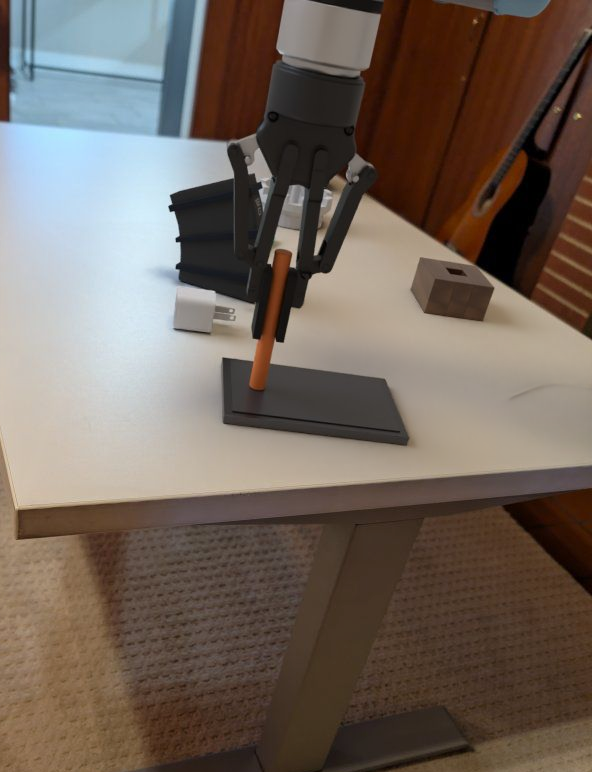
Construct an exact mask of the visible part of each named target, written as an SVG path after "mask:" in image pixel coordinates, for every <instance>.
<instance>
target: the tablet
mask: <svg viewBox="0 0 592 772" xmlns="http://www.w3.org/2000/svg"><path fill="white" fill-rule="evenodd" d="M253 363H254V360H248V359H239V358H232V357H226V356H225V357H224V356H222V357H221V361H220V371H221V372H220V373H221V374H220V375H221V376H220V377H221V403H222V404H221V406H222V407H221V408H222V411H221V412H222V423H223V424H228V425H237V426H245V427H253V428H262V429H269V430H277V431H278V430H279V431H286V432H287V431H288V432H294V433H304V434H309V435H311V434H312V435H318V436H319V435H320V436H329V437H335V438H344V439H345V438H346V439H353V440H359V441H369V442H379V443H386V444H393V445H402V446H408V443H409V440H410V435H409V433H408V431H407V429H406V426H405V424H404V421H403V418H402V416H401V414H400V412H399V409H398V406H397V404H396V401H395V399H394V396H393V394H392V393H391V389H390V387H389V385H388V382H387V380H386V378H384V377H377V376H376V377H375V376H370V375H361V374H353V373H345V372H338V371H331V370H322V369H316V368H309V367H308V368H307V367H301V366H294V365H293V366H292V365H287V364H286V365H283V364H277V363H270V366H269V371H268V376H267V380H266V385H265V388H264V389H263V390H254V389H252V388H251V387H250V386H249V384H250V378H251V373H252V368H253Z"/></svg>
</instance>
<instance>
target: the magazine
mask: <svg viewBox="0 0 592 772" xmlns="http://www.w3.org/2000/svg"><path fill="white" fill-rule="evenodd" d="M248 174H249V226H248V244H249V245H251V246H253V247H254V246H255V242H256V238H257V234H258V230H259V227H260V223H261V219H262V215H263V206H262V202H261V197H260V193H259V190H260V189H262V188H263V187H262V183H261V182H260V181H258V180H257V177H256V173H254V172H253V173H248ZM169 199H170V202H171V204H169V205H168V206H167V208H168V212H169V213H174V215H175V219H176V222H177V229H178V236H177V237H175V243H177V244H178V243H179V247H180V248H179V250H180V254H179V255H180V256H179V257H180V259H179V262H178V263H175V268H174V269H175V270H177V271H179V272H178V280H179V281H181V282H183V283H187V284H190V285H192V286H196V287H200V288H202V289H205V290H211V291H215V293H218V294H222V295H226V296H229V297H231V298H236V299H238V300H241V301H244V302H248V303H254V302H249V301H248V298H247V291H246V290H247V285H248V279H249V273H250V265H249V264H247V263H246V262H244V261H239V260H237V259H236V257H235V252H234V177H232V178H228V179H223V180H219V181H215V182H211V183H205V184H203V185H198V186H194V187H191V188H186V189H181V190H178V191H175V192H173V193H170V194H169Z"/></svg>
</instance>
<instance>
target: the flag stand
mask: <svg viewBox="0 0 592 772" xmlns="http://www.w3.org/2000/svg"><path fill="white" fill-rule="evenodd" d="M259 182H261V183H262V187H263V188H262V189H260V190H259V193H260V197H261V202H262V206H263V211H264V207H265V204H266V200H267V196H268V192H269V188H270V182H271V178H269V177H266V176H265V177H262V178H260V179H259ZM304 189H305V187H303V186H301V185H291V186H289V190H288V193H287V196H286V198H285V201H284V204H283V208H282V212H281V215H280V219H279V223H278V226H279V227H282V228H287V229H291V230H299V231H300V225H301V218H302V210H303V202H304ZM333 201H334V194H333V192H332V191H330V190H329V189H325V188H324V194H323V200H322V203H321V209H320V216H319V223H318V229H320V228H321V227H322V223H323V218H324V216H325V215H327V214H328V213H329V212H331V210H332V206H333Z"/></svg>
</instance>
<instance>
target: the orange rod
mask: <svg viewBox="0 0 592 772" xmlns="http://www.w3.org/2000/svg"><path fill="white" fill-rule="evenodd" d="M292 259H293V252H292V251H290V250H288V249H286V248H276V249H275V250H274V253H273V259H272V263H271V266H272V271H273V278H272V283H271V288H270V293H269V298H268V303H267V309H266V314H265V319H264V324H263V329H262V334H261V339H260V340H258V339H257V342H256V346H255V347H256V348H255V353H254V358H253V361H254V363H253V368H252V373H251V378H250V384H249V386H250V387H251V388H252V389H254V390H263V389H264V388H265V385H266V380H267V376H268V371H269V366H270V364H271V361H272V355H273V350H274V345H275V342H276V339H275V335H276V330H277V326H278V321H279V316H280V311H281V306H282V301H283V296H284V291H285V287H286V282H287V277H288V272H289V268H290V267H291V262H292Z"/></svg>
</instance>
